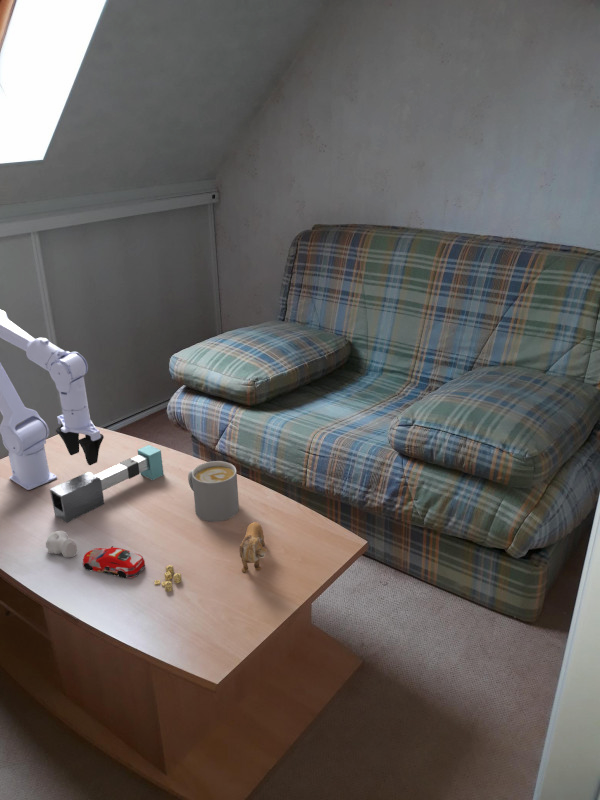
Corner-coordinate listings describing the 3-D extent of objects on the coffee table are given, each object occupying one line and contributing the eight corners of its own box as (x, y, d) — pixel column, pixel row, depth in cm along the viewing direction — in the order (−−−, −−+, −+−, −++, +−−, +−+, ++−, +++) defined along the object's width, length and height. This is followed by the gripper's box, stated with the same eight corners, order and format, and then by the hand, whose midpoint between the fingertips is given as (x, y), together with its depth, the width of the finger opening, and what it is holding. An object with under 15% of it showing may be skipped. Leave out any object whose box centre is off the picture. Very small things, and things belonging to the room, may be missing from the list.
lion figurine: (268, 582, 128) (267, 543, 124) (241, 584, 128) (238, 545, 124) (264, 537, 141) (263, 501, 138) (239, 539, 141) (237, 503, 137)
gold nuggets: (170, 571, 132) (169, 564, 131) (188, 582, 129) (187, 574, 128) (150, 585, 129) (149, 577, 128) (168, 595, 126) (167, 587, 125)
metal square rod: (76, 495, 153) (74, 483, 151) (147, 462, 167) (146, 450, 166) (84, 500, 151) (82, 488, 149) (155, 466, 165) (154, 454, 164)
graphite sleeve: (54, 515, 150) (49, 488, 148) (92, 497, 157) (88, 471, 155) (66, 522, 148) (61, 496, 145) (104, 504, 154) (100, 478, 152)
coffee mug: (247, 510, 151) (245, 472, 147) (210, 527, 145) (207, 488, 141) (215, 487, 161) (212, 451, 157) (179, 502, 155) (175, 465, 151)
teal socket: (140, 474, 167) (137, 449, 164) (151, 468, 170) (148, 444, 167) (152, 480, 164) (149, 455, 161) (163, 474, 167) (160, 450, 164)
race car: (78, 569, 133) (74, 553, 131) (94, 553, 138) (91, 538, 136) (134, 583, 129) (131, 566, 127) (149, 566, 133) (146, 550, 132)
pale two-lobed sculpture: (46, 552, 140) (67, 536, 142) (62, 568, 134) (83, 552, 137) (36, 538, 138) (58, 522, 140) (52, 554, 132) (74, 538, 134)
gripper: (42, 403, 152) (51, 455, 157) (77, 420, 143) (86, 474, 149) (69, 394, 157) (77, 444, 162) (105, 409, 148) (112, 462, 153)
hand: (83, 458), depth 156 cm, fingers open, 7 cm apart
